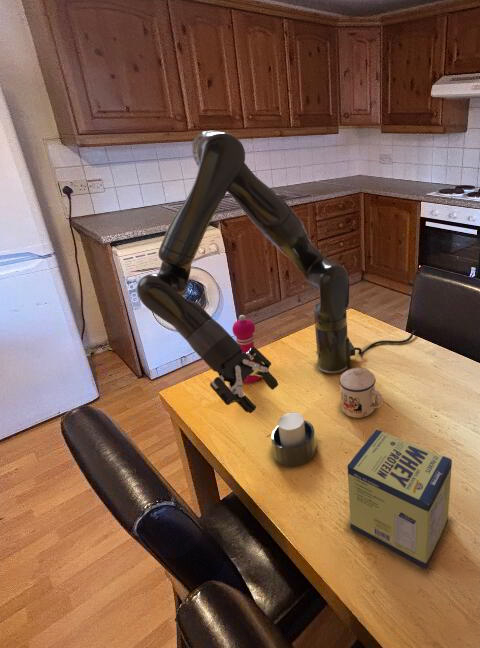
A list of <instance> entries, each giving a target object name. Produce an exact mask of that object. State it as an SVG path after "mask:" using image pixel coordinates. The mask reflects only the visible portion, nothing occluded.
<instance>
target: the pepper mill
mask: <svg viewBox="0 0 480 648" xmlns="http://www.w3.org/2000/svg"><path fill="white" fill-rule="evenodd" d="M255 331H256V326H255V323H254V322H253V321H252V319H249V318H246V316H245V315H244V314H241V315H239V316H238V320H236V321H235V322H234V323H233V324H232V333H233V335H234V336H235V341H236V342H237V343H238V344H239V345H240V346H241V350H242V352H244V353H247V352H248V351H249V350H250V349H251V348H252V347H255V343H254V342H255V338H256V337H255ZM250 361H251V362H254V361H253V360H250ZM261 362H262V361H261ZM254 363H255V362H254ZM262 363H263V362H262ZM261 378H262V377H260V376H256V375H249V376H248V377H247V378H246V379H245V380H244V381H243V383H246V384H247V383H248V384H249V383H255V382H256V381H259V380H260V379H261Z"/></svg>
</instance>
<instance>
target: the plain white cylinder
mask: <svg viewBox="0 0 480 648" xmlns="http://www.w3.org/2000/svg"><path fill="white" fill-rule="evenodd" d="M304 420H305V418H304V416H303V415H302V414H301V413H299V412H296V411H295V412H293V411H292V412H287V413H285V414H283V415H282V416H280V418H279V419H278V421H277V424H278V425H277V426H279V434H280V441H281V447H286V448H294V447H298V446H300V445H302V444H304V443H306V434H305V424H304Z"/></svg>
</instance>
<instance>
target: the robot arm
mask: <svg viewBox="0 0 480 648" xmlns="http://www.w3.org/2000/svg"><path fill="white" fill-rule="evenodd" d="M244 147H245V146H244V145H243V144H242V142H241V140H239V139H238V137H236V136H235V135H233V134H231V133H228V132H225V131H219V130H205V131H202V132H200V133H198V134H197V135H196V136H195V137H194V139H193V141H192V145H191V153H192V157H193V160H194V162H195V164H196V166H198V170H197V174H196V178H195V180H194V183H193V185H192V188H191V189H190V191H189V193H188V195H187V197H186V199H185V200H184V201H183V203H182V204H181V206H180V207H179V208H178V210H177V211H176V213H175V214H174V216H173V218H172V219H171V221H170V223H169V225H168V227H167V229H166V231H165V234H164V237H163V239H162V241H161V244H160V246H159V249H158V251H157V252H158V253H157V255H158V258H159V260H160V261H161V265H160V268H159V271H158V272H156V273H149V274H146V275H144V276H142V278H140V279H139V281H138V282H137V285H136V293H137V297H138V298H139V301H140V302H141V303H142V304H143V305H144V307H146V308H147V309H148V310H149V311H150V312H152V313H153V314H155V315H156V316H157V317H159V318H160V319H162V320H163V321H164V322H166V323H167V324H170V325H171V326H172V327H173V328H174V329H175V330H176V331H177V332H178V334H179V335H180V336H181V337H182V338H183V339H184V340H185V341H186V342H187V343H188V345H189V346H190V348H191V349H192V350H193V351H194V352H195V353H196V355H197V356H199V358H201V360H203V362H205V364H206V365H207V366H208V367H209V368H210V369H211V370H212V371H213V372H214V373H215V372H216V373H217V374H218V376H217V377H215V378H214V379H213V380H212V381H211V382H209V386H210V387H211V389H212V390H213V391H214V392H215V393H216V395H217V396H218V397H219V398H220V399H221V401H222V402H223V403H224V404H225V405H226V406H230V405H231V404H233V403H236V404H238V406H240V408H241V409H242V410H243V411H244V412H245V413H249V414H252V413H253V412H255V411H256V409H257V405H255V403H253V402H252V400H251V399H250V398H249V397H248V396H247V395H246V394H244V390H243V386H244V382H243V381H244V380H245V379H246V378H247V377H248V376H249V375H256V376H260V377H261V378H260V379H261V381H263V382H264V383H265V385H266V386H268V387H269V389H270V390H275V389H276V388H277V387H278V386H279V382H278V380H277V378H275V376H274V375H273V374H272V373H271V372H270V371H269V370H270V367H271V366H272V363H271V361H270V360H269V359H268V358H267V357H266V356H264V354H263V353H262V352H261V351H259V349H258V348H257V347H255V346H254V347H252V348H251V349H250V350H249V351H248V352H247V353H244V352H242V350H241V346H240V345H239V344H238V343H237V342H236V339H234V337H233V336H232V335H230V334H229V332H227V330H226V329H225V328H224V327H223V326H222V325H221V324H220V323H218V321H216V320H215V319H214V318H213V317H212V316H211V314H209V313H208V312H207V311H206V310H205V309H204V307H202V305H200V304H199V303H197V302H195V301H191V300H188V299H186V297H184V294H185V292H186V290H187V287H188V286H189V285H188V284H189V280H190V275H191V269H192V264H193V261H194V260H195V258H196V255H197V253H198V250H199V248H200V246H201V243H202V241H203V239H204V236H205V234H206V232H207V230H208V227H209V225H210V223H211V221H212V219H213V217H214V216H215V213H216V212H217V210H218V209H219V208H218V207H219V206H220V204H221V203H222V200H223V199H224V197H225V195H226V194H227V193H228V194H229V196H230V197H232V198H233V200H234V201H235V202H236V203H237V204H238V206H239V208H240V209H241V210H242V211H243V212H244V214H245V215H246V216H247V217H248V219H249V220H250V221H251V222H252V223H253V224H254V225H255V227H256V228H257V229H258V231H260V233H262V234H263V235H264V236H265V238H266V239H267V240H268V241H269V242H270V243H271V244H272V245H273V246H275V248H276V249H278V251H280V252H281V253H282V254H283V255H284V256H285V257H287V258H288V259H289V260H290V261H291V262H292V264H294V265H295V266H296V268H297V270H298V271H300V274H301V275H302V276H303V277H304V279H305V280H306V282H307V283H308V284H309V285H310V287H312V288H313V289H314V290H316V291H317V292H319V302H316V304H315V305H314V306H313V316H314V328H315V329H314V330H315V343H316V350H315V355H316V357H317V369H318V370H319V371H320V372H322V373H324V374H327V375H328V374H329V375H336V374H340V373H342V372H343V373H344V372H345V371H347V370H348V369H351V367H352V364H351V361H352V360H351V357H354V356H356V351H358V355H359V356H360V355H363V354H364V353H365V352H367V351H368V350H369V349H371V348H372V347H374V346H376V345H378V344H404V343H407V342H409V341H410V340H412V338H413V337H414V335H415V334H418V333H419V331H418V330H416V329H414V330H413V331H412V332H411V333H410V336H408V338H406V339H404V340H403V339H402V340H378V341H375V342H373V343H371V344H369V345H368V346H367V347H366V348H365V349H364V350H362V348H361V347H354V345H353V343H352V342H351V340H350V338H349V336H348V316H347V312H348V311H347V310H348V307H349V302H350V276H349V273H348V270H347V268H346V267H344V266H343V265H341V264H339V263H337V262H335V261H334V260H331V259H330V258H328V257H327V256H325V254H323V253H322V252H321V251H320V250H319V249H318V248H317V247H316V246H315V245H314V244H313V243H312V241H311V239H310V238H309V235H308V232H307V229H306V227H305V225H304V223H303V222H302V220H301V219H300V217H299V216H298V215H297V214H296V212H295V211H294V210H293V208H292V207H291V206H290V205H289V204H288V203H287V201H285V200H284V199H283V198H282V197H281V196H280V195H278V194H277V192H275V191H274V190H273V189H272V188H270V187H269V186H268V185H267V184H266V183H264V182H263V181H262V180H260V178H259V177H257V176H256V175H255V174H254V172H253V171H252V170H251V169H250V168H249V166H248V165H247V163H246V151H245V150H246V149H245V148H244ZM250 360H253V361H254V362H255V363H254V362H251V361H250ZM261 361H262V362H261ZM226 383H227V384H228V385H227V384H226Z"/></svg>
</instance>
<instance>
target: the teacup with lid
mask: <svg viewBox="0 0 480 648" xmlns="http://www.w3.org/2000/svg"><path fill="white" fill-rule="evenodd" d="M338 380H339V382H338V383H339V385H340V400H341V410H342V412H343V413H344V414H345V415H347V416H348V417H350V418H354V419H355V418H357V419H360V418H364V417H367V416H370V415H371V414H372V413H373V412H374V411H375V409H379V408H380V407H381V406H383V403H384V398H383V395H382V394H381V392H379V391H378V390H376V389H375V388H376V385H375V384H376V381H377V380H376V376H375V374H374V373H373V372H372V371H370V370H368V369H367V368H362V367H353V368H349V369H346V370H345V371H343V373H342V374H341V375H340V377H339V379H338ZM376 397H377V399H378V403H376Z"/></svg>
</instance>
